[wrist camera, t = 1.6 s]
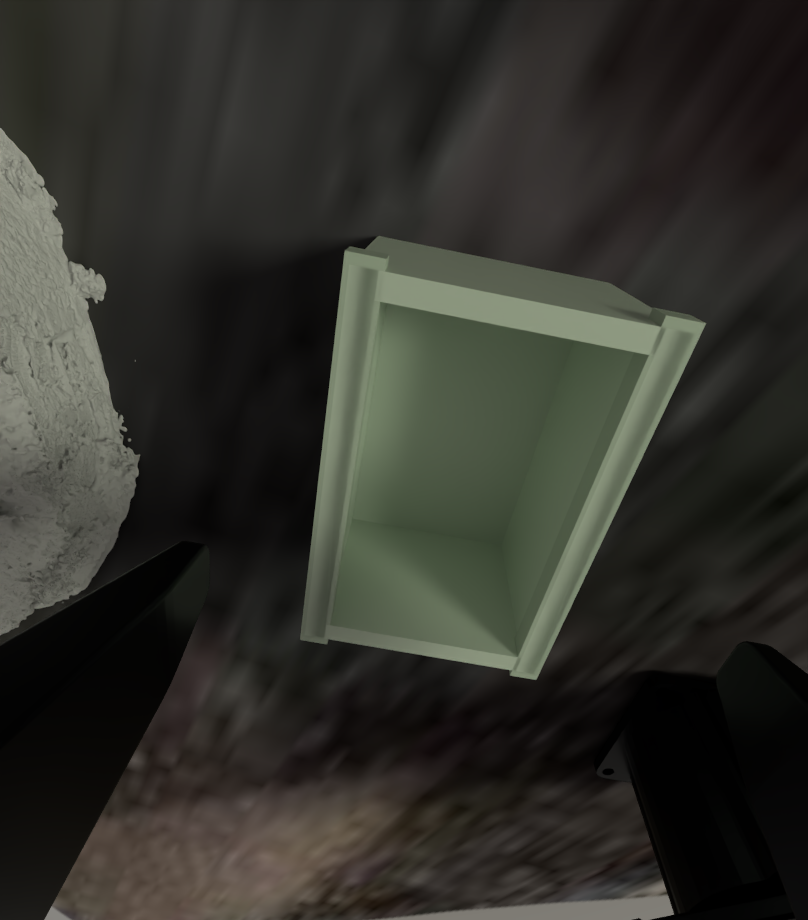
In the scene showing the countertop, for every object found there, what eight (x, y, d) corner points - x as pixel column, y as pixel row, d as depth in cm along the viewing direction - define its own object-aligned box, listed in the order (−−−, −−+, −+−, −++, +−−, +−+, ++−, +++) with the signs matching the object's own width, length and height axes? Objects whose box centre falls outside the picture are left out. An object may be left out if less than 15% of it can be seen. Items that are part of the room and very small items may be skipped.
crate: (511, 554, 17) (535, 679, 13) (334, 523, 17) (299, 639, 13) (614, 274, 13) (705, 323, 9) (376, 226, 13) (345, 250, 8)
